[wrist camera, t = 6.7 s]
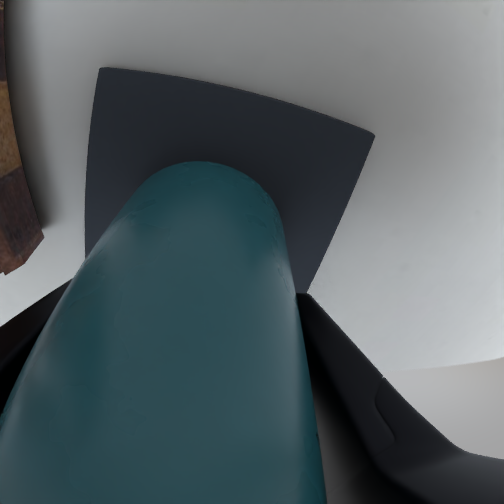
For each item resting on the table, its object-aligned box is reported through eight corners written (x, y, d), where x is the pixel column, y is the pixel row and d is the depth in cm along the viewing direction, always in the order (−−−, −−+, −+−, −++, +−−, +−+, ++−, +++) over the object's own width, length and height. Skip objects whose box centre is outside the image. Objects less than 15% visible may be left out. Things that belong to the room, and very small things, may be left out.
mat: (285, 324, 16) (286, 333, 15) (91, 281, 14) (86, 289, 14) (370, 131, 11) (376, 135, 10) (105, 67, 9) (98, 67, 9)
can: (257, 312, 13) (266, 578, 4) (121, 282, 12) (36, 535, 4) (306, 185, 10) (426, 569, 2) (133, 144, 9) (-109, 467, 1)
